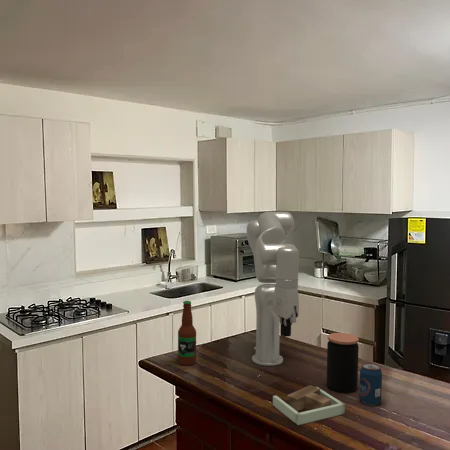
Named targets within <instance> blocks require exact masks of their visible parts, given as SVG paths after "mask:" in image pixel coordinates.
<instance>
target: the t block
mask: <svg viewBox="0 0 450 450" xmlns="http://www.w3.org/2000/svg"><path fill="white" fill-rule="evenodd" d="M317 387H318V386H315V385H314V386H313V385H311V384H310V385H307V386H306V387H303V388H299V390H296V391H294V392H291V393H289V394H287V396H286V403H287V404H288V405H289V406H291V407H292V408H293V409H295V410H296V411H297V412H299V411H303V410H304V409H306V410H307V411H309V410H313V409H318V408H322V407H326V406H330V405H331V399H328V398H326V397H323V396H321V395H320V389H321V388H320V387H318V388H317ZM319 388H320V389H319Z"/></svg>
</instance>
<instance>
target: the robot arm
mask: <svg viewBox="0 0 450 450" xmlns="http://www.w3.org/2000/svg"><path fill="white" fill-rule="evenodd" d="M294 229H295V220H294V217H293V214H291V213H290V212H288V211H264V212H262V213H261V214H260V215H259V216H258V219H255V220H251V221H249V222H248V223H247V225H246V239H247V242H248V246H249V247H250V250H251V252H252V255H253V262H254V270H255V271H254V272H255V276H256V277H255V278H256V280H257V281H258V282H259V283H262V284H260V285H258V286H256V288H255V289H254V302H255V311H256V312H255V313H256V315H255V317H256V321H255V323H256V324H255V325H256V329H255V330H256V332H255V336H256V337H255V346H254V347H253V350H255V354H253V355H252V357H251V360H252V361H251V362H253V363H255V364H256V365H259V366H269V367H272V366H277V365H281V364H282V363H283V362H284V358H283V356H282V355H280V336H281V337H283V338H286V337H291V335H292V325H293V324H294V323H297V318H298V317H299V314H300V313H299V312H300V302H299V299H300V298H299V289H298V288H299V264H300V263H299V259H300V257H299V256H300V254H299V253H300V252H299V249H298V248H297V247H296V245H294V244H292V243H282V242H283V241H284V239H287V238H288V237H289V235H290V234H291V233H292V232H293V231H294Z"/></svg>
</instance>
